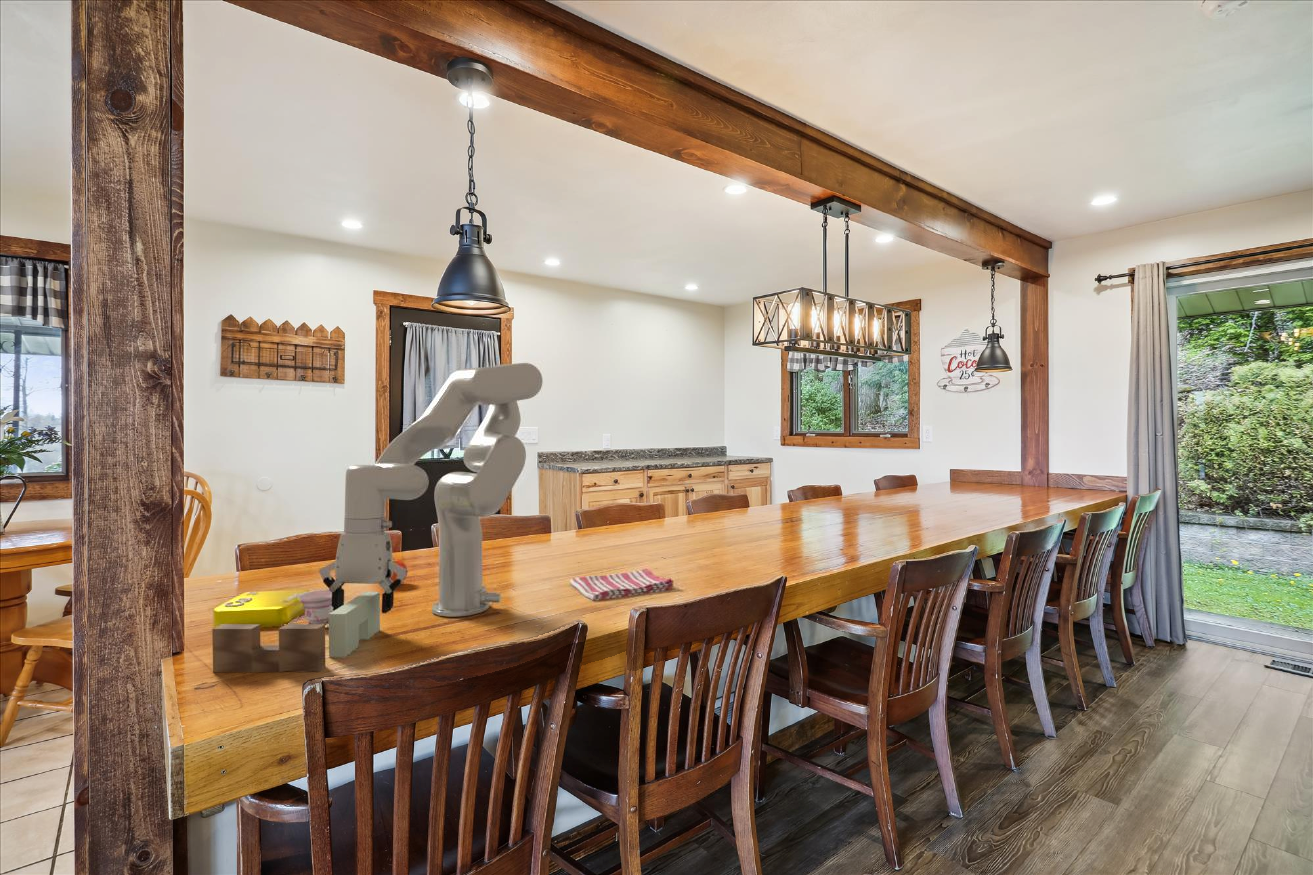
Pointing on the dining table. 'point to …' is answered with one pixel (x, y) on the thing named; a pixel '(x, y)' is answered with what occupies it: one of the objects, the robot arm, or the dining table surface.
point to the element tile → (260, 608)
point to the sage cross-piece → (353, 623)
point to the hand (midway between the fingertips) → (362, 610)
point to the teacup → (316, 606)
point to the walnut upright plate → (268, 648)
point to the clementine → (399, 565)
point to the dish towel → (620, 584)
